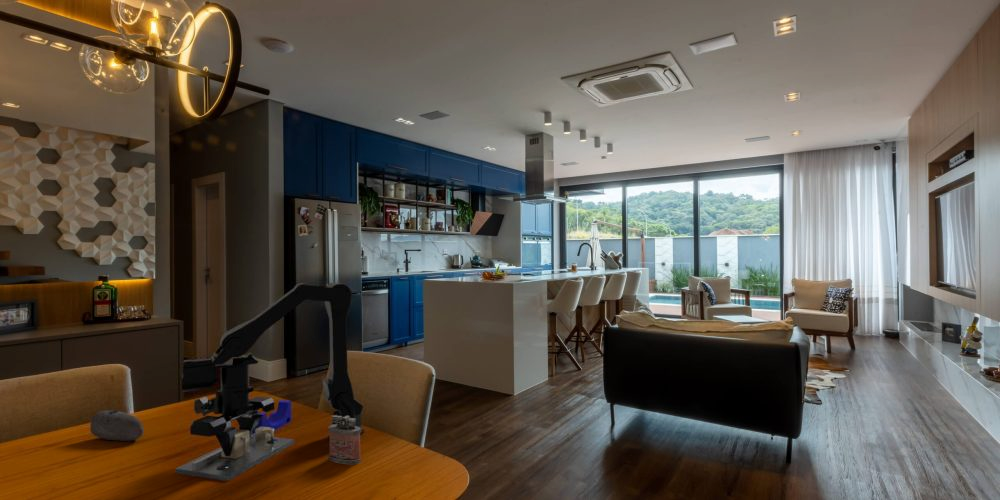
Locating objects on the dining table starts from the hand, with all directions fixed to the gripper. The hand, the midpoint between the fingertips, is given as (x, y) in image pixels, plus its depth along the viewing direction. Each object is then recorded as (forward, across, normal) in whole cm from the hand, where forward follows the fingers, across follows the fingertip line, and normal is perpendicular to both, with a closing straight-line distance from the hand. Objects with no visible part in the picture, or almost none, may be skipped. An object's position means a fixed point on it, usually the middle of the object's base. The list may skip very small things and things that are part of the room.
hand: (235, 452), depth 108 cm
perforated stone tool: (+2, -2, -39) cm, 39 cm away
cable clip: (+2, -18, -6) cm, 19 cm away
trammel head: (+1, 0, +1) cm, 1 cm away
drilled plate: (+2, -1, 0) cm, 2 cm away
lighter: (+2, -6, +25) cm, 26 cm away
